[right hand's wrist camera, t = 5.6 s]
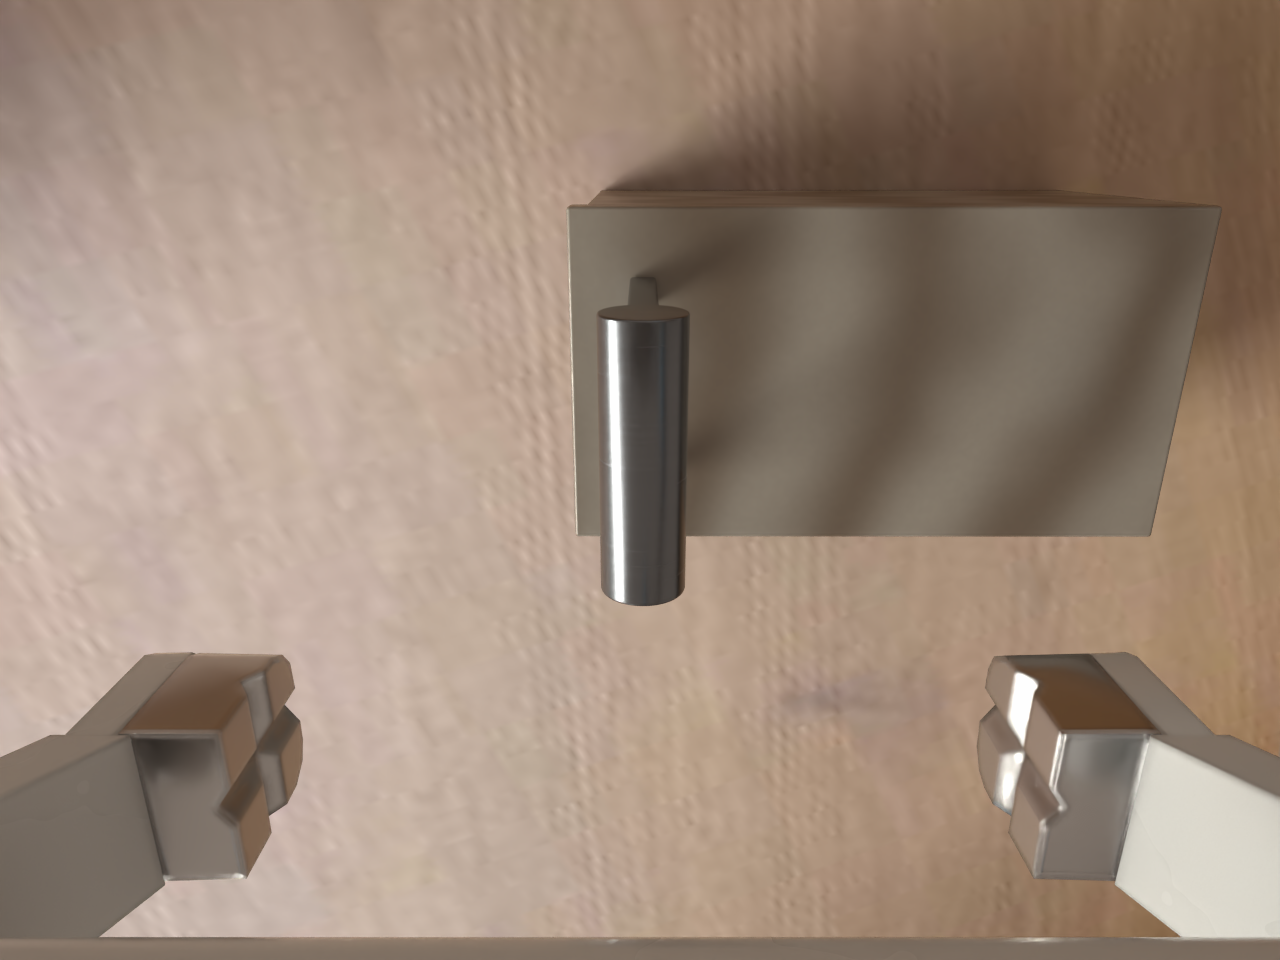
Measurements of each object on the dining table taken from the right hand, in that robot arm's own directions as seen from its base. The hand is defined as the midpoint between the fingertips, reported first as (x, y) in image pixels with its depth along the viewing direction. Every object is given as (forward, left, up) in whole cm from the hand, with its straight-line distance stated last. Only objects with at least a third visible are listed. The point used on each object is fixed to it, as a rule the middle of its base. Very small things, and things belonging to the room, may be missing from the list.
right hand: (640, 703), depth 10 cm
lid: (+4, +5, -16) cm, 17 cm away
